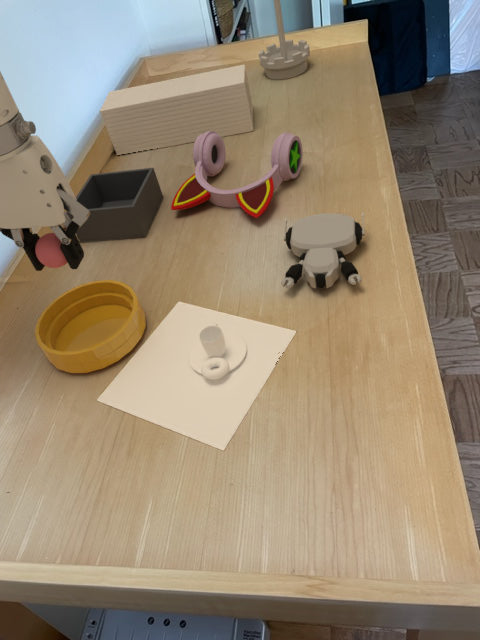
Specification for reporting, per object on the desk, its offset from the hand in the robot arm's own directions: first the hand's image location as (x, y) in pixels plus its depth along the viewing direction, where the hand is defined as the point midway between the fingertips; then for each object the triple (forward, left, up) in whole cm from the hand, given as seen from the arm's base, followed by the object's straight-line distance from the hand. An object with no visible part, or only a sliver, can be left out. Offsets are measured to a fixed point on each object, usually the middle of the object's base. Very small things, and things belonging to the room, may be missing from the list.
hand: (60, 262), depth 72 cm
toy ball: (0, 0, +2) cm, 2 cm away
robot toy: (+34, +13, -13) cm, 38 cm away
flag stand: (+21, +94, -13) cm, 97 cm away
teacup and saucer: (+18, -7, -13) cm, 23 cm away
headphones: (+17, +36, -13) cm, 42 cm away
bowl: (+1, -1, -13) cm, 13 cm away
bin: (-5, +30, -13) cm, 33 cm away
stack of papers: (0, +64, -13) cm, 65 cm away
